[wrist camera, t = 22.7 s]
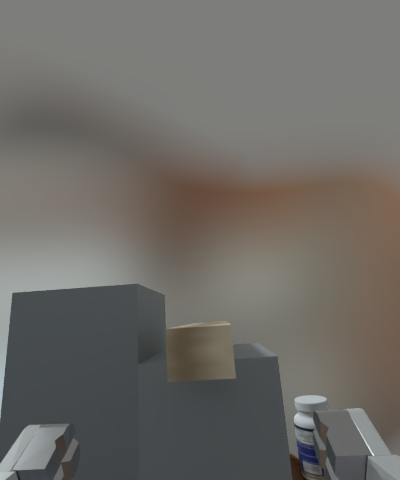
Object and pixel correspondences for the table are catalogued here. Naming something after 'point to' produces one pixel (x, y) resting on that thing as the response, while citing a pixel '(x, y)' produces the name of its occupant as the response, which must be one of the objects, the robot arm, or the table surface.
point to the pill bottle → (308, 435)
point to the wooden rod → (200, 352)
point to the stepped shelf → (137, 392)
